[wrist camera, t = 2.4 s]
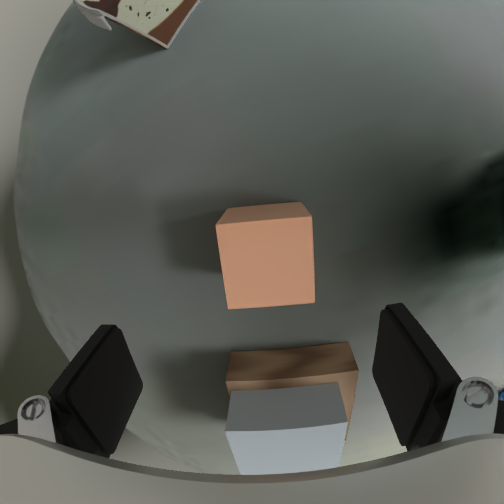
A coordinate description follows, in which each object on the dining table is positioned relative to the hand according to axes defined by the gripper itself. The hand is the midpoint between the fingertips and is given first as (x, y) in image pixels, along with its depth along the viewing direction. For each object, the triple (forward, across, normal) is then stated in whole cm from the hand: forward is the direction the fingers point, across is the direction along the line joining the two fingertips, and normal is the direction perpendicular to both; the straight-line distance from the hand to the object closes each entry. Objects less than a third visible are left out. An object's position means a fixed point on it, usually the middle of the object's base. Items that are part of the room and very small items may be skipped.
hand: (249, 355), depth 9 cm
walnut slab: (+14, -2, +16) cm, 21 cm away
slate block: (+10, -1, +16) cm, 19 cm away
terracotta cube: (+14, -1, 0) cm, 14 cm away
